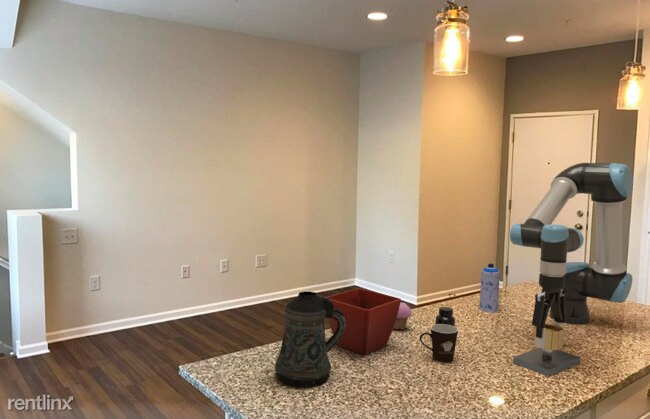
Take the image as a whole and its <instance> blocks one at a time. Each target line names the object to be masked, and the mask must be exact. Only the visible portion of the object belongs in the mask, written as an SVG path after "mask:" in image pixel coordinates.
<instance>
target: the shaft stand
mask: <svg viewBox="0 0 650 419" xmlns="http://www.w3.org/2000/svg"><path fill="white" fill-rule="evenodd" d="M512 363H513V364H514V365H518V366H520V367H522V368H525V369H527V370H528V369H529V370H530V371H533V372H536V373H538V374H541V375H543V376H546V377H551V376H553V375H555V374H558V373H560V372H562V371H563V372H564V371H565V370H567V369H570V368H572V367H575V366H577V365H579V364H581V356H578V355H574V354H573V353H572V354H571V353H570V352H565V351H564V350H561V349H559V350H548V349H542V348H539V347H537V348H535V349H532V350H529V351H525V352H524V353H520V354H518V355H515V356H513V362H512Z"/></svg>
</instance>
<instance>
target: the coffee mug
mask: <svg viewBox="0 0 650 419" xmlns="http://www.w3.org/2000/svg"><path fill="white" fill-rule="evenodd" d="M430 332H431V333H430ZM430 332H423V333H421V334H420V335H419V342H420V343H421V344H422V345H423V346H424V347H425V348H427V349H429V351H431V352H432V358H433V360H434V361H436V362H440V363H451V362H454V356H455V352H456V345H457V340H458V334H459V329H458V327H456V326H455V327H454V326H451V325H445V324H437V325H435V324H433V325H431V326H430ZM425 335H427V336H429V337H430V340H431V347H430V346H428V345H427V344H425V343H424V342H423V341H422V338H423V336H425Z"/></svg>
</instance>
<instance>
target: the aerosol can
mask: <svg viewBox="0 0 650 419" xmlns="http://www.w3.org/2000/svg"><path fill="white" fill-rule="evenodd" d="M500 274H501V273H500V270H499V269H498V268H497V267H495V265H494V263H488V264H487V266H486V267H483V269H482V270H481V273H480V294H479V308H478V309H479V310H480V311H481V312H485V313H497V312H498V311H499V294H500V292H499V291H500Z"/></svg>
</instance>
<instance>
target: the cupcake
mask: <svg viewBox="0 0 650 419" xmlns="http://www.w3.org/2000/svg"><path fill="white" fill-rule="evenodd" d="M410 317H412V309H411V307H410V306H409V305H407V303H405V302H400V307H399V311H398V315H397V318H396V322H395V325H394V328H393V329H394V330H403V331H404V330H405V328H406V326H407V323H408V319H409V318H410Z"/></svg>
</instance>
